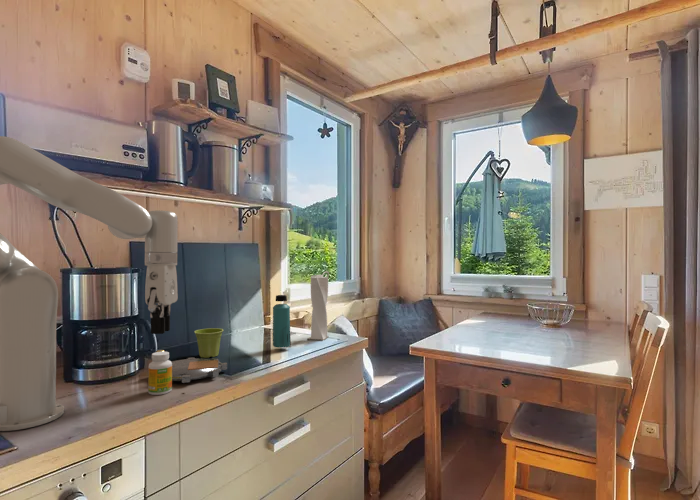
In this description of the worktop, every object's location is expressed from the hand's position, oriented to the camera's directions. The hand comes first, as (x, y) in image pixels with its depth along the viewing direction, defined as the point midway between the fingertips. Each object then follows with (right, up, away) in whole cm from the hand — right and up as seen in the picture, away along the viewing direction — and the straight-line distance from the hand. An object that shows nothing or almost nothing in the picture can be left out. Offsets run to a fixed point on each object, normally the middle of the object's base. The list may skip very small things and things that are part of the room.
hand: (160, 331), depth 103 cm
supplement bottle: (0, -15, 0) cm, 15 cm away
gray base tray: (+2, -15, +14) cm, 21 cm away
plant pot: (0, -16, +37) cm, 40 cm away
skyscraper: (+35, -16, +65) cm, 76 cm away
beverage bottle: (+23, -16, +46) cm, 54 cm away
